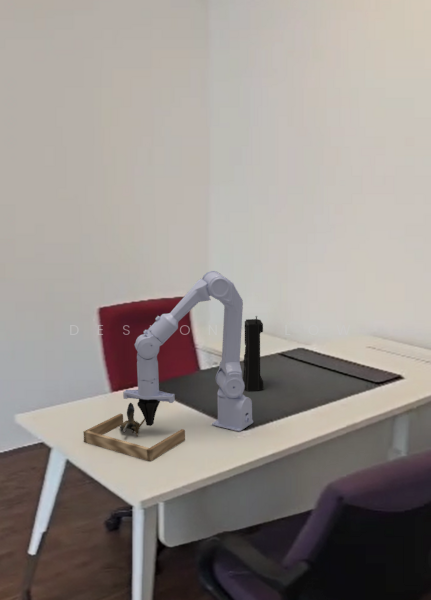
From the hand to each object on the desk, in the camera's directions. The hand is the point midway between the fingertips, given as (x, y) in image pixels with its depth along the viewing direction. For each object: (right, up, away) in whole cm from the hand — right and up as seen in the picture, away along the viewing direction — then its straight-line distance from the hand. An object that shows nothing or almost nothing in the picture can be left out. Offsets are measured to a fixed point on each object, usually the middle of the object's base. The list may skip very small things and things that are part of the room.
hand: (150, 424), depth 184 cm
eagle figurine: (-5, -2, +1) cm, 5 cm away
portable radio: (+31, +5, +35) cm, 47 cm away
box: (-4, -4, -5) cm, 7 cm away
